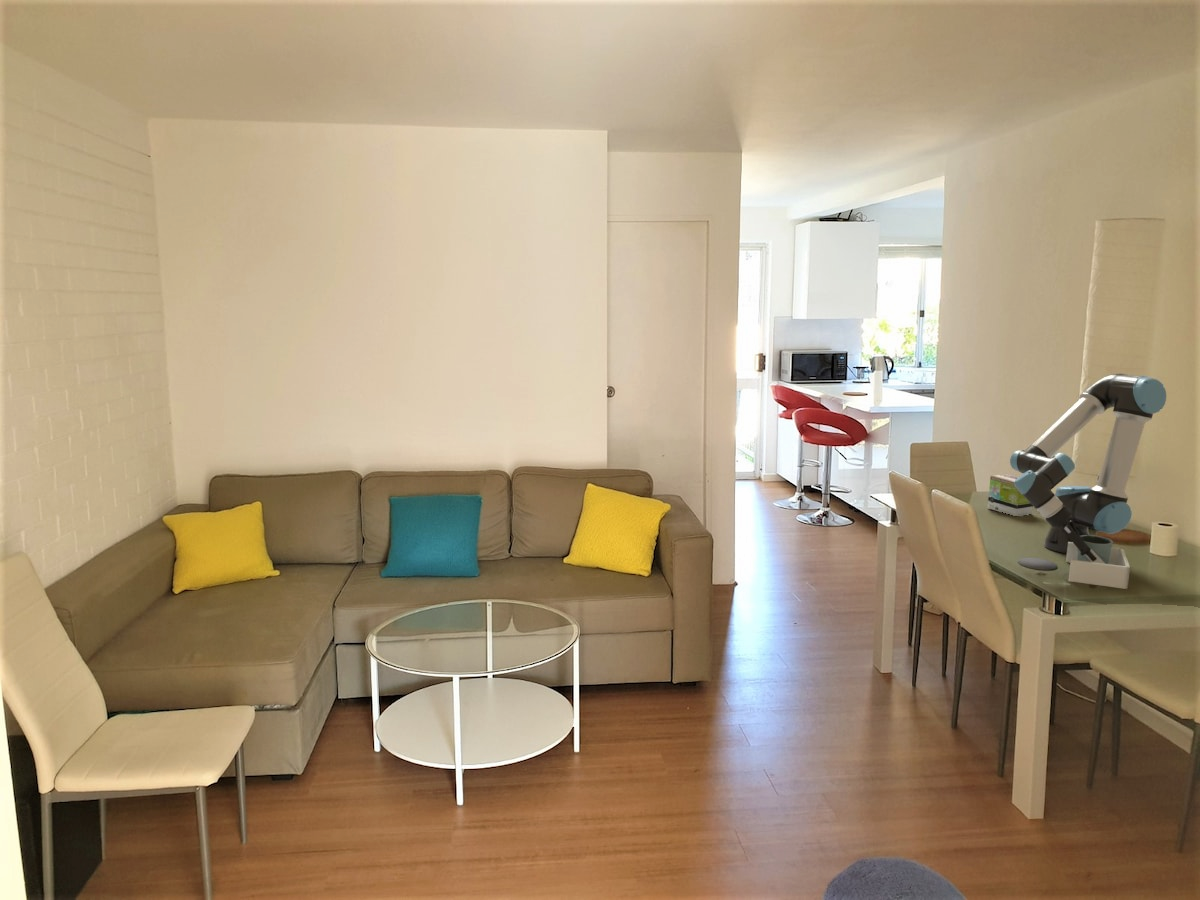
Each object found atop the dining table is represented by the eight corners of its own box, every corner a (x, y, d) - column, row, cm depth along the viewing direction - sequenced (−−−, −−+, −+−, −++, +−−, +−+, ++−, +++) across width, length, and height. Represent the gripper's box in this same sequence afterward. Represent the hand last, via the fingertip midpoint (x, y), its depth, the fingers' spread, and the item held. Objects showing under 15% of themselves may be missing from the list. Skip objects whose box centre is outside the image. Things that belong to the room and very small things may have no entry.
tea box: (986, 509, 373) (989, 475, 370) (1003, 506, 377) (1006, 473, 375) (1016, 517, 360) (1019, 482, 357) (1033, 515, 364) (1036, 480, 361)
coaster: (1018, 557, 307) (1018, 555, 307) (1056, 562, 302) (1056, 560, 302) (1017, 566, 296) (1017, 565, 296) (1057, 572, 291) (1057, 570, 291)
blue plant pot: (1100, 569, 294) (1104, 535, 292) (1114, 579, 284) (1118, 544, 282) (1068, 568, 295) (1072, 534, 293) (1081, 578, 285) (1085, 543, 283)
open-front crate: (1065, 561, 303) (1068, 541, 301) (1120, 568, 296) (1123, 548, 294) (1068, 581, 282) (1071, 560, 281) (1127, 589, 275) (1130, 567, 274)
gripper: (1044, 510, 304) (1088, 557, 300) (1045, 527, 282) (1093, 579, 278) (1062, 496, 300) (1108, 545, 297) (1065, 513, 279) (1114, 565, 275)
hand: (1100, 561), depth 288 cm, fingers open, 13 cm apart
